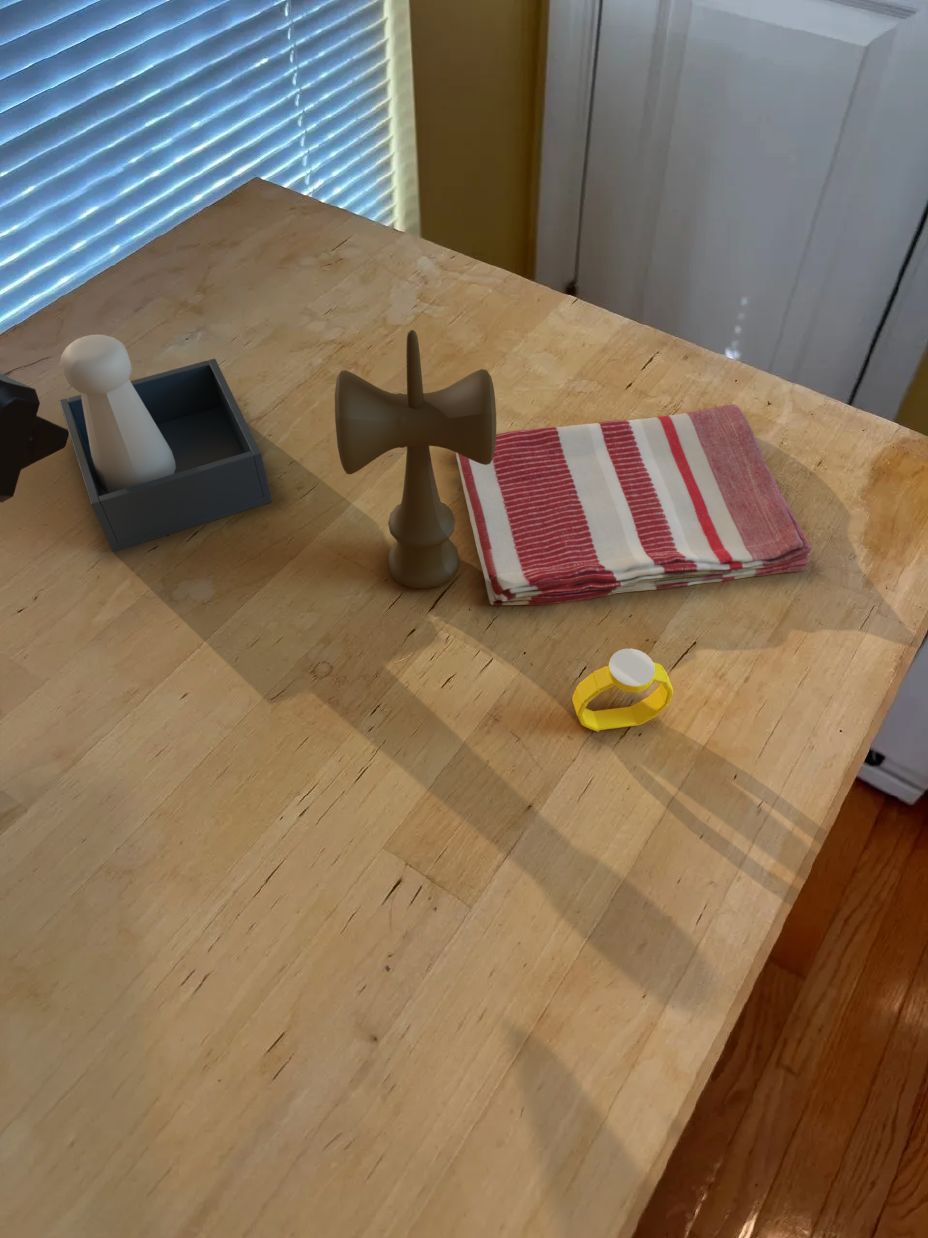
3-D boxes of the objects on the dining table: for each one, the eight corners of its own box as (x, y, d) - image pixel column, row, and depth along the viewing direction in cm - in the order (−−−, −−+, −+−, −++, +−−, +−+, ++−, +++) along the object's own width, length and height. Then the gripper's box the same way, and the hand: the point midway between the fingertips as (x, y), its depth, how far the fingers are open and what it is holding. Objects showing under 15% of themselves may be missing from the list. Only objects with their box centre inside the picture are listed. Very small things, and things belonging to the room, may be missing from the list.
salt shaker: (99, 475, 72) (38, 332, 62) (173, 456, 74) (126, 312, 63) (112, 527, 69) (51, 384, 59) (189, 505, 70) (142, 362, 60)
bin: (112, 552, 69) (91, 504, 65) (80, 449, 75) (58, 400, 71) (272, 502, 72) (261, 453, 68) (227, 407, 79) (214, 357, 75)
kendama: (357, 539, 69) (326, 301, 54) (487, 533, 70) (494, 295, 54) (356, 602, 66) (322, 367, 50) (493, 596, 66) (503, 360, 50)
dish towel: (812, 572, 67) (823, 547, 65) (491, 615, 65) (492, 591, 63) (732, 418, 78) (739, 393, 76) (452, 451, 75) (452, 426, 73)
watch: (576, 746, 59) (586, 694, 54) (565, 709, 60) (573, 656, 56) (668, 731, 59) (685, 678, 55) (654, 694, 61) (670, 640, 56)
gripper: (-77, 241, 39) (166, 332, 54) (-347, 134, 45) (-61, 242, 59) (-142, 493, 41) (109, 514, 56) (-393, 360, 47) (-105, 411, 61)
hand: (10, 413), depth 58 cm, fingers open, 9 cm apart
